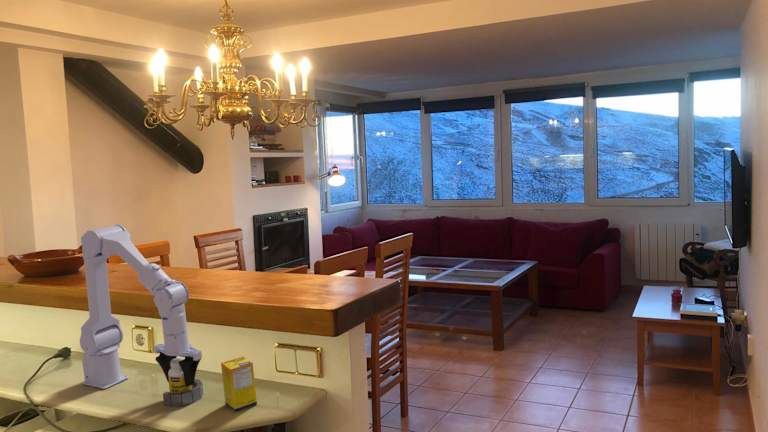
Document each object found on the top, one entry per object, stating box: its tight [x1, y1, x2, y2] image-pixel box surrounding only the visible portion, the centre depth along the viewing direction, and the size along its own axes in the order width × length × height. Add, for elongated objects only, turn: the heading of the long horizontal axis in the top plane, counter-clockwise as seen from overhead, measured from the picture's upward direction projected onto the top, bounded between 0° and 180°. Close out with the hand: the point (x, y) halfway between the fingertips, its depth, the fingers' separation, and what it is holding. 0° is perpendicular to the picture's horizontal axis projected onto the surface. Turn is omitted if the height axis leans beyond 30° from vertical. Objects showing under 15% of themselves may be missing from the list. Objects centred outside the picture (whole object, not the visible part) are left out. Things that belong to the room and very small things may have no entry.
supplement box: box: [220, 356, 258, 413], centre depth 152 cm, size 6×6×11 cm
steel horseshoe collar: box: [162, 378, 204, 408], centre depth 158 cm, size 6×10×3 cm, turn 151°
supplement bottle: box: [168, 357, 192, 393], centre depth 159 cm, size 5×5×10 cm
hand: (181, 383), depth 159 cm, fingers open, 6 cm apart
